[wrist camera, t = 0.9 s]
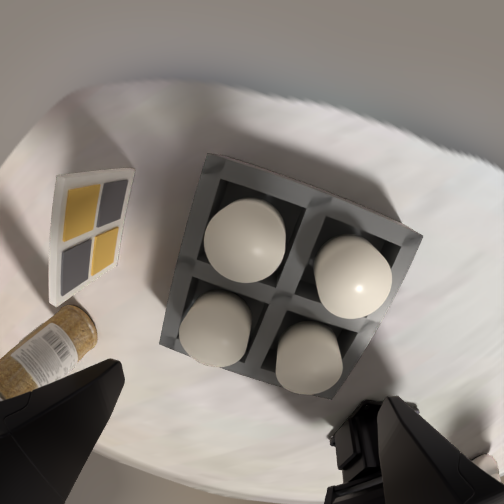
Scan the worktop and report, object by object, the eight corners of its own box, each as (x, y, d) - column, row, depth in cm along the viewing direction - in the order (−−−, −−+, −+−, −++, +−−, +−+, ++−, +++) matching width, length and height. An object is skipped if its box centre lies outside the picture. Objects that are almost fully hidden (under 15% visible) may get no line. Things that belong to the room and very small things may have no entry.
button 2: (388, 247, 15) (404, 262, 12) (361, 305, 16) (371, 327, 13) (328, 223, 15) (336, 234, 12) (303, 285, 16) (305, 305, 13)
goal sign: (137, 170, 18) (67, 179, 11) (118, 266, 20) (58, 308, 13) (128, 167, 18) (56, 175, 11) (110, 262, 20) (48, 302, 13)
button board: (402, 223, 17) (423, 235, 14) (327, 370, 20) (331, 399, 17) (221, 155, 17) (207, 153, 14) (175, 319, 20) (159, 343, 17)
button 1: (347, 330, 16) (354, 354, 14) (321, 374, 17) (324, 400, 15) (291, 313, 16) (291, 336, 14) (269, 359, 17) (266, 385, 15)
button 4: (295, 211, 15) (297, 220, 12) (271, 274, 16) (269, 293, 13) (227, 187, 15) (216, 192, 12) (208, 252, 16) (195, 267, 14)
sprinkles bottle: (54, 308, 22) (-46, 389, 9) (82, 298, 21) (-31, 393, 8) (77, 350, 23) (-7, 441, 10) (108, 344, 22) (17, 453, 9)
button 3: (260, 302, 16) (256, 324, 14) (241, 350, 17) (235, 375, 15) (200, 281, 16) (186, 299, 14) (186, 330, 17) (173, 352, 15)
